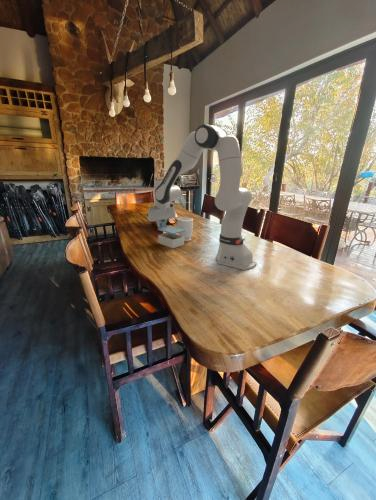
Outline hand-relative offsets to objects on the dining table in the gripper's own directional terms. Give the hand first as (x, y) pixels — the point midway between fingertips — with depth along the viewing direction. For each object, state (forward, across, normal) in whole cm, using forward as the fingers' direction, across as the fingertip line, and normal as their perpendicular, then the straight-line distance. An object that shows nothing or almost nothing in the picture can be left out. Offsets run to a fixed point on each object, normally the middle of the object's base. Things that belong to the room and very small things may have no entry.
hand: (161, 226), depth 156 cm
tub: (+11, 0, -9) cm, 14 cm away
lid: (+2, 0, -7) cm, 7 cm away
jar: (+11, +14, -8) cm, 19 cm away
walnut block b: (+10, 0, -6) cm, 12 cm away
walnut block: (+10, 0, -12) cm, 16 cm away
